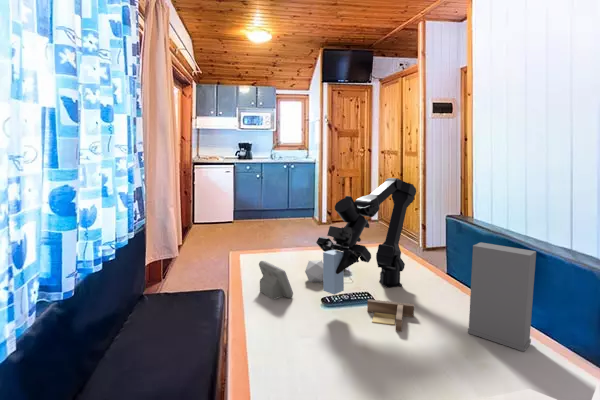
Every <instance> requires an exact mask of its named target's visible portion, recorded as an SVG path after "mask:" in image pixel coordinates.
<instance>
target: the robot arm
mask: <svg viewBox="0 0 600 400" xmlns="http://www.w3.org/2000/svg"><path fill="white" fill-rule="evenodd" d="M416 194H417V188H416V187H415V185H414V184H413V183H410V182H407V181H403V180H402V179H400V178H395V177H389V178H386V179H385V181H384V182H383V183H382V184H380V185H379V186H378V187H377V188H376V189H375V190H373V191H372V192H371V193H370V194H367V195H363V196H360V197H359V198H357V199H355V200H354V198H353V197H352V196H350V195H345V197H344V198H342V199H339V200H338V201H337V202H336V203H335V205H334V210H335V211H336V213H337V214H338V216H339V217H340V218H341V220H342V221H343V222H344V223H346V224H345V226H344V227H343V226H342V227H339V226H334V225H330V226H329V228H328V231H327V234H326V236H327V237H325V236H319V237H318V238H317V240H316V242H315V243H316V244H317V246H318V247H319V248H320V249H321V250H322V251H323V252H326V251H329V250H337V251H341V252H344V253H343V258H342V260H341V262H340V264H339V266H338V267H337V270H336V273H337V274H339V273H340V272H342V271H343V270H344V271H345V270H346V269H348V268H349V267H351V266H352V265H354V264H355V263H359V262H360V261H361V262H365V263H370V261H371V259H372V253H371V252H370V251H369V249H368V248H367V247H366V246H365V245H363V244H358V243H360V242H361V241H362V239H361V235H362V233H363V231H364V229H369V228H370V223H369V219H366V218H365V217H367V218H369V217H370V218H374V217H375V216H376V215H377V213H378V212H379V210H380V206H381V204H382V203H384V201H386V200H387V199H389V197H391V199H392V203H393V208H392V211H391V216H390V219H389V224H388V228H387V231H386V236H385V240H384V242H382V243H379V244H378V246H377V251H376V255H375V258H376V263H377V268H381V271H380V272H379V276H380V277H379V283H380V284H381V285H383V286H384V287H385V288H394V287H396V288H397V287H402V286H403V283H401V272H403V271H404V269H405V266H406V263H405V262H404V260H403V259H402V257H401V255H402V251H401V248H400V245H399V243H400V240H401V234H402V230H403V227H404V223H405V222H404V221H405V218H406V214H407V210H408V207H410V205H411V204H412V203H413V202H414V199H415V196H416ZM329 237H331V238H333V239H332V240H333V241H332V240H331V239H330V238H329ZM334 242H335V243H334ZM359 259H360V260H359Z"/></svg>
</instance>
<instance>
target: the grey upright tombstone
mask: <svg viewBox="0 0 600 400" xmlns="http://www.w3.org/2000/svg"><path fill="white" fill-rule="evenodd" d="M471 259H472V260H471V277H470V295H469V296H470V299H469V314H468V315H469V317H468V329H467V333H468V334H469V335H472V336H473V335H474V336H476V337H480V338H483V339H485V340H489V341H492V342H494V343H496V344H501V345H504V346H506V347H509V348H513V349H515V350H518V351H519V352H525V351H526V349H527V348H528V347H529V346H530V344H531V342H532V338H531V329H532V328H531V327H532V326H531V325H532V314H533V312H532V311H533V299H534V287H535V285H534V284H535V272H536V260H537V251H535V250H530V249H524V248H518V247H512V246H505V245H499V244H493V243H488V242H487V243H486V242H482V241H481V242H478V243H476V244H473V245H472V257H471Z"/></svg>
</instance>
